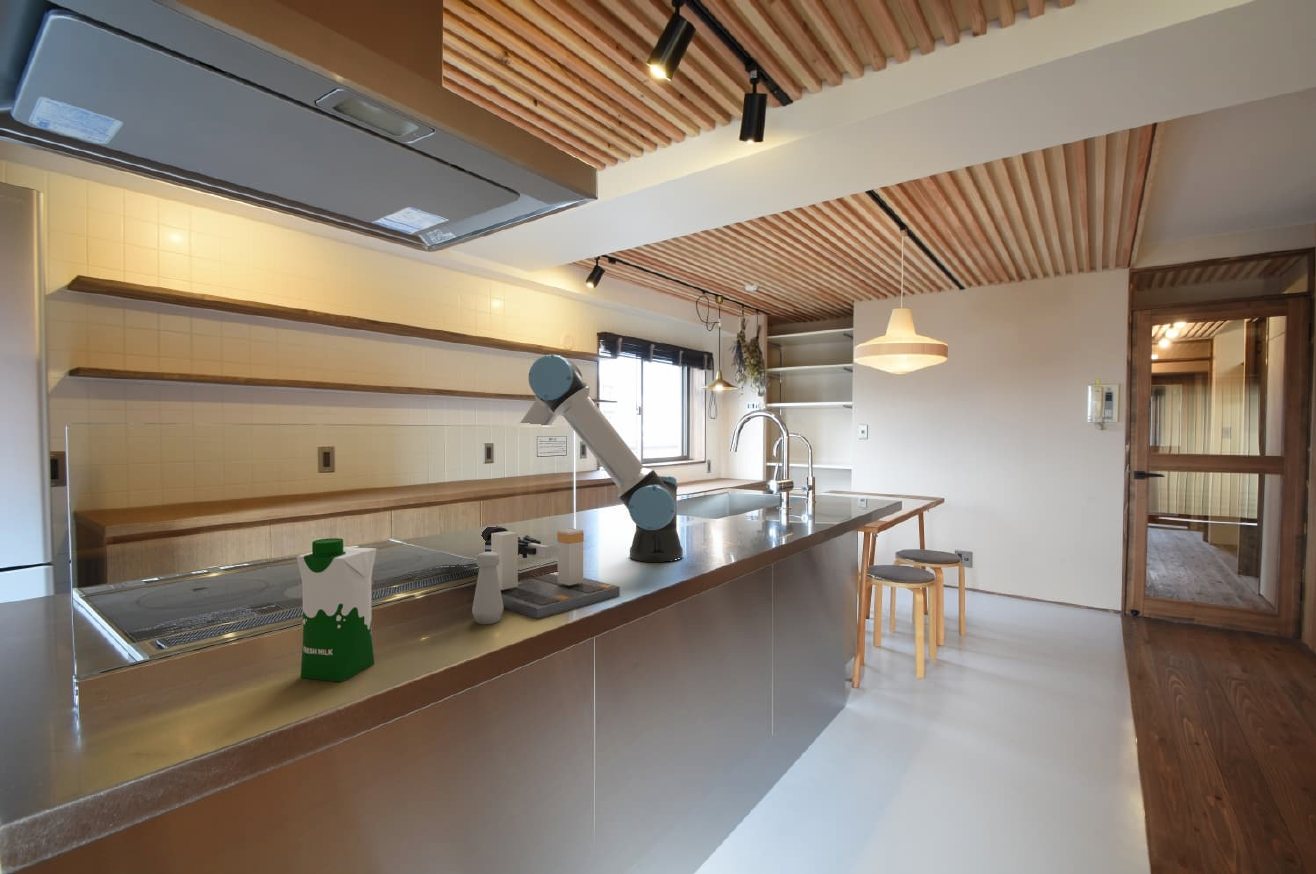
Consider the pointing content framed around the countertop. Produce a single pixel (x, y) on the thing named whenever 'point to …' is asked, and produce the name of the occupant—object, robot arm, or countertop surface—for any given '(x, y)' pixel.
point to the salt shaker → (487, 590)
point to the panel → (554, 595)
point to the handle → (570, 556)
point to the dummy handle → (506, 558)
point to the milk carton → (336, 610)
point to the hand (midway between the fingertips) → (547, 552)
